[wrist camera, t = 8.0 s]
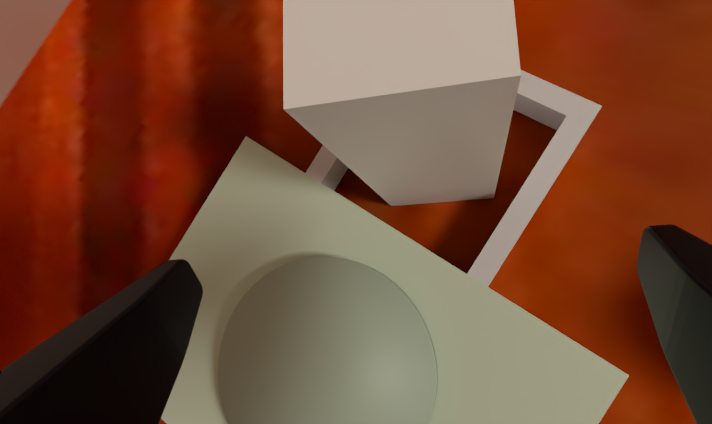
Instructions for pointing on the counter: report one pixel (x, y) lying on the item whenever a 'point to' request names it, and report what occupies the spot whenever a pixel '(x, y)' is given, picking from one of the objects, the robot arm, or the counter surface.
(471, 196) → the grey tall block
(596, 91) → the counter surface
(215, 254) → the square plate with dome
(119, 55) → the counter surface
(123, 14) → the counter surface
